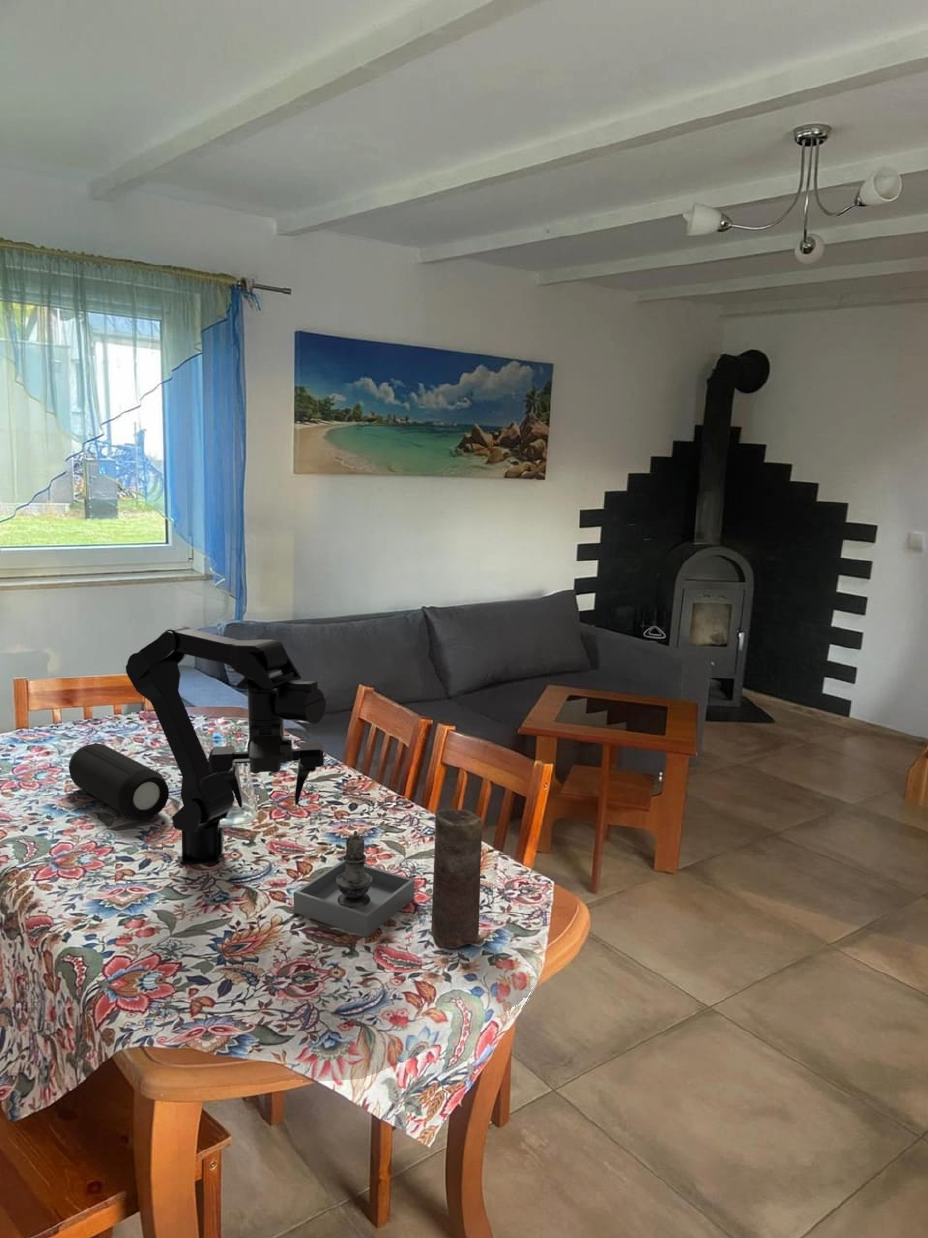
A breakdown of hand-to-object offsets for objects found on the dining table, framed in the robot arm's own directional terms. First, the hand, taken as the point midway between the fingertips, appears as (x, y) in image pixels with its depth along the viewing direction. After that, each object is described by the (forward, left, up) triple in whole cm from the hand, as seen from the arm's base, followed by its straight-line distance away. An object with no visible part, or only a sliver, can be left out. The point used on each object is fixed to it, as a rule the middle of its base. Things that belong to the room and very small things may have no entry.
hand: (268, 805), depth 153 cm
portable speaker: (-32, +33, -13) cm, 48 cm away
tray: (+15, -11, -13) cm, 22 cm away
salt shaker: (+14, -11, -12) cm, 22 cm away
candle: (+30, -22, -13) cm, 39 cm away
